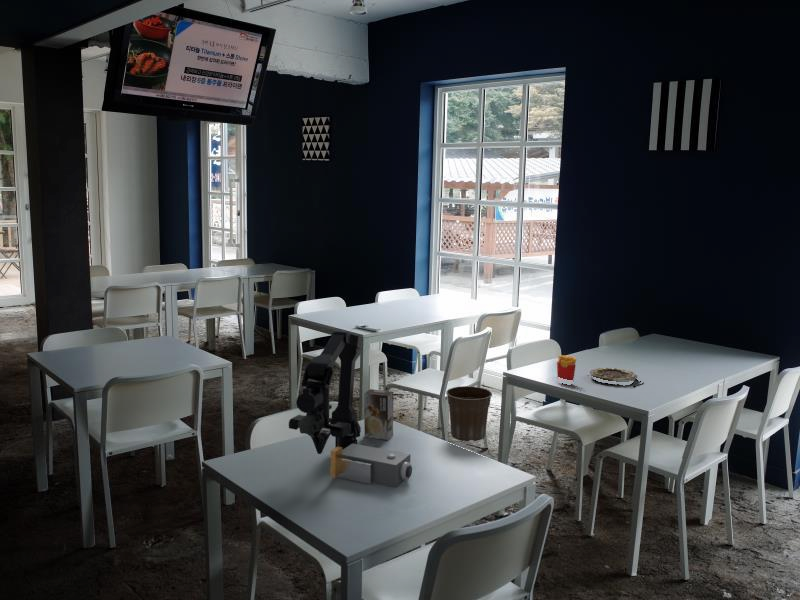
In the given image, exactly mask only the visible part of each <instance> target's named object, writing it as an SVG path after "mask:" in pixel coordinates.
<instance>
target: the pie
mask: <svg viewBox="0 0 800 600" xmlns="http://www.w3.org/2000/svg"><path fill="white" fill-rule="evenodd" d="M589 375H591V376H593V377H596V378H600V379H603V380H608V381H616V382H629V381H634V382H635V381H636V380H635V379H636V378H638V374H637V373H636V372H633V371H630V370H627V369H623V368H617V367H616V368H612V367H610V368H609V367H605V368H603V367H598V368H597V367H596V368H594V369H591V370H590V371H589ZM591 376H590V377H591Z"/></svg>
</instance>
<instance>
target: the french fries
mask: <svg viewBox="0 0 800 600" xmlns="http://www.w3.org/2000/svg"><path fill="white" fill-rule="evenodd" d="M576 361H577V358H575V357H574V356H572V355H563V354H562V355H561V354H560V355H558V361H557V362H556V369H557V371H556V372H557V378H558V377H560V378H563V379H567V380H573V379H575V373H576ZM573 381H574V380H573Z"/></svg>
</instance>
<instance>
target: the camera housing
mask: <svg viewBox="0 0 800 600" xmlns="http://www.w3.org/2000/svg"><path fill="white" fill-rule="evenodd" d="M342 458H345V459H351V460H356V461H361V462H366V463H371V464H372V483H371V484H375V485H380V486H384V487H389V488H395V489H397V487H399V486H400V485H401V484H402V483H404V482H405V481H408V480H409V479H410V478H411V477H412V473H413V467H412V463H411V453H407V452H399V451H396V450H390V449H384V448H379V447H373V446H368V445H363V444H351V445H349V446H348V447H346V448H345V449H343V450H342Z"/></svg>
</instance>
